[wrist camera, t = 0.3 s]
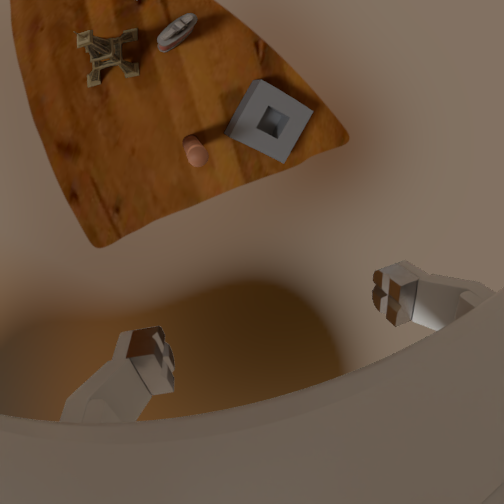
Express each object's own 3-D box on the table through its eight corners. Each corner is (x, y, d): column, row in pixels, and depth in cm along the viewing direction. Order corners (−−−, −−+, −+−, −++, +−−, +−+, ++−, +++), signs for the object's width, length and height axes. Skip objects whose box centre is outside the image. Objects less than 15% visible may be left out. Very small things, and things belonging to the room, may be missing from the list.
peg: (186, 132, 50) (193, 144, 39) (200, 138, 52) (211, 151, 41) (180, 146, 52) (184, 162, 40) (194, 152, 53) (203, 169, 42)
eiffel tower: (88, 87, 39) (35, 86, 19) (86, 41, 33) (36, 11, 13) (139, 75, 41) (118, 59, 21) (137, 28, 35) (119, -17, 15)
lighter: (185, 19, 37) (190, 5, 29) (196, 29, 39) (203, 17, 31) (154, 45, 38) (152, 35, 30) (165, 55, 40) (165, 47, 32)
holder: (253, 80, 48) (261, 79, 44) (302, 109, 54) (313, 111, 50) (223, 133, 53) (229, 136, 49) (275, 157, 59) (283, 163, 55)
